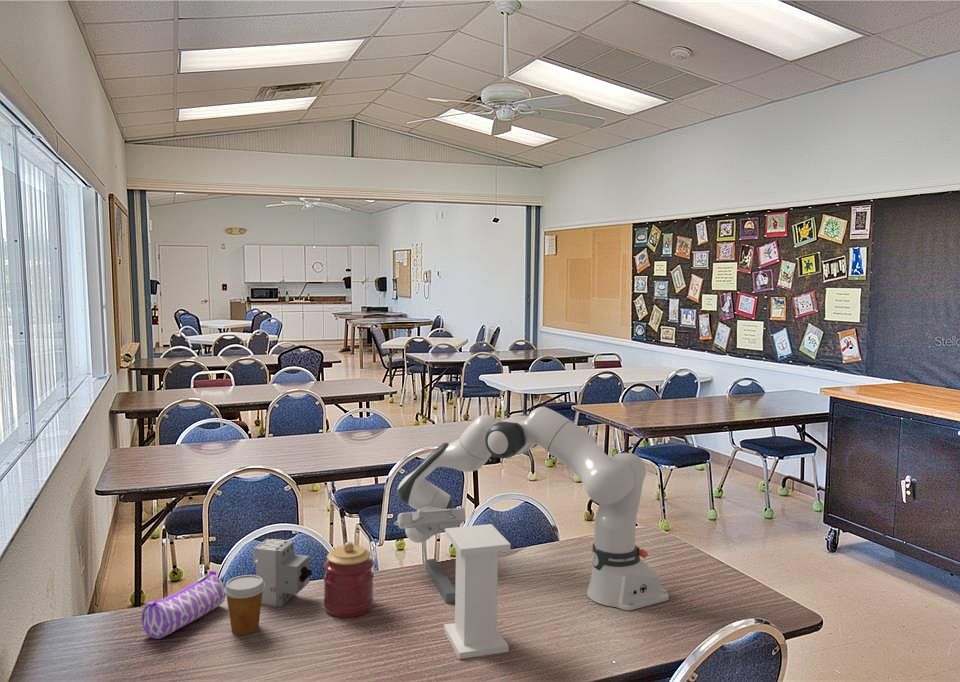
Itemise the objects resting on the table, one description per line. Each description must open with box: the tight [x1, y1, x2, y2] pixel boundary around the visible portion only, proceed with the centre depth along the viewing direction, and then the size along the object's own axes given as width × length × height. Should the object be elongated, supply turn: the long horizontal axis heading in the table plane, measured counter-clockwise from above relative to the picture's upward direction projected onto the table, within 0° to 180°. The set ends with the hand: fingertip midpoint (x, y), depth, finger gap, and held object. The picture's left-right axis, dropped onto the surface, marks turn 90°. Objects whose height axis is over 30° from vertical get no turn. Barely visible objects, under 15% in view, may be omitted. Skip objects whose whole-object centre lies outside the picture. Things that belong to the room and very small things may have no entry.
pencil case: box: [141, 570, 227, 640], centre depth 179 cm, size 22×9×10 cm, turn 160°
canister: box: [323, 541, 375, 618], centre depth 187 cm, size 13×13×18 cm
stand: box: [443, 523, 512, 660], centre depth 170 cm, size 12×14×26 cm
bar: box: [424, 558, 455, 604], centre depth 203 cm, size 3×24×3 cm, turn 18°
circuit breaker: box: [252, 538, 313, 607], centre depth 191 cm, size 8×14×15 cm, turn 78°
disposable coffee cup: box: [224, 574, 265, 636], centre depth 175 cm, size 10×10×12 cm
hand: (437, 512), depth 205 cm, fingers open, 8 cm apart
